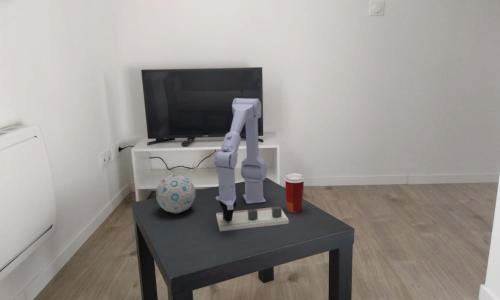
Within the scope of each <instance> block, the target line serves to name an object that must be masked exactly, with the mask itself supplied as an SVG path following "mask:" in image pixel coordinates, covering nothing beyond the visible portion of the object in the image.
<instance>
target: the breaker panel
mask: <svg viewBox="0 0 500 300" xmlns="http://www.w3.org/2000/svg"><path fill="white" fill-rule="evenodd" d="M256 209H257V216H258V219H251V220H249V219H248V210H249V209H246V210H244V209H243V210H236V211H233V217H232V221H227V222H226V220H223V215H222V212H216V213H215V214H216V215H215V216H216V217H215V218H216V222H217V225H218V229H219V232H226V231H234V230H235V231H236V230H243V229H252V228H253V229H254V228H263V227H271V226H279V225H281V226H282V225H289V223H290V221H289V218H288V217H287V215H286V213H285V212H284V211H283V210H282V216H279V217H273V216H272V207H265V208H256Z"/></svg>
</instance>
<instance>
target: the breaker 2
mask: <svg viewBox="0 0 500 300" xmlns="http://www.w3.org/2000/svg"><path fill="white" fill-rule="evenodd" d="M271 208H272V216H273V217H279V216H282V211H283V209H282V207H281V206H272V207H271Z"/></svg>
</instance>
